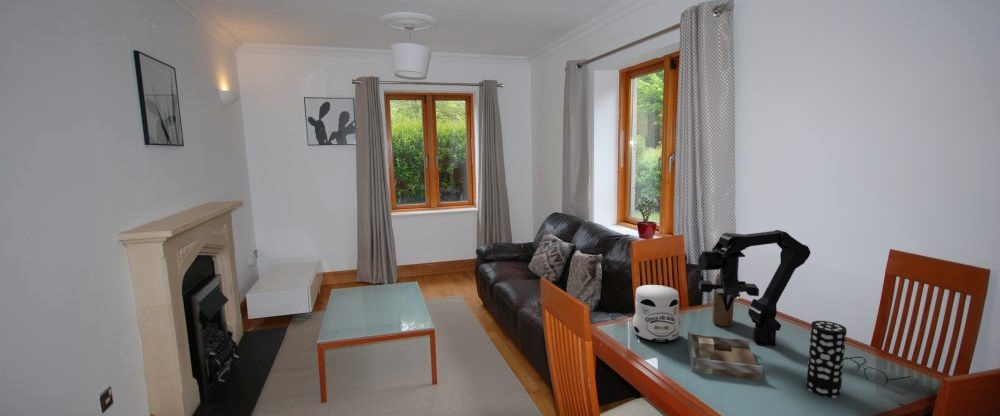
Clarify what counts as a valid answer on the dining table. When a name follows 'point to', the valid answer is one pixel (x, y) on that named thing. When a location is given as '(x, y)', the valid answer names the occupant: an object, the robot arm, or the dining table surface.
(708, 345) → the beech block
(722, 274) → the robot arm
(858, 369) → the glasses
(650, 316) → the milk container
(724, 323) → the block
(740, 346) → the shallow wooden tray
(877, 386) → the dining table surface
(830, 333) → the spotted tube
